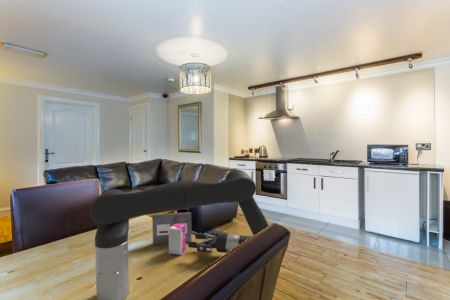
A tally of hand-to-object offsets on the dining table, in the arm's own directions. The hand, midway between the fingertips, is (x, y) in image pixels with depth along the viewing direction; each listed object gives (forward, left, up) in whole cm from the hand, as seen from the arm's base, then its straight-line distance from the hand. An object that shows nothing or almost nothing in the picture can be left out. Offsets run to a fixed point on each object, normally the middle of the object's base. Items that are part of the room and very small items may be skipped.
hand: (192, 240), depth 98 cm
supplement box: (+2, +7, -6) cm, 9 cm away
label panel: (+12, +10, -6) cm, 17 cm away
